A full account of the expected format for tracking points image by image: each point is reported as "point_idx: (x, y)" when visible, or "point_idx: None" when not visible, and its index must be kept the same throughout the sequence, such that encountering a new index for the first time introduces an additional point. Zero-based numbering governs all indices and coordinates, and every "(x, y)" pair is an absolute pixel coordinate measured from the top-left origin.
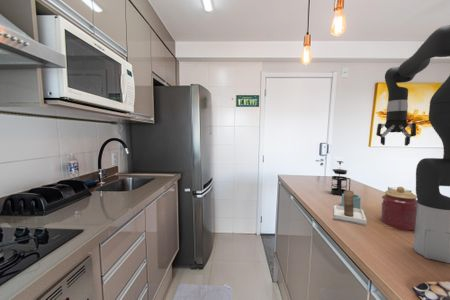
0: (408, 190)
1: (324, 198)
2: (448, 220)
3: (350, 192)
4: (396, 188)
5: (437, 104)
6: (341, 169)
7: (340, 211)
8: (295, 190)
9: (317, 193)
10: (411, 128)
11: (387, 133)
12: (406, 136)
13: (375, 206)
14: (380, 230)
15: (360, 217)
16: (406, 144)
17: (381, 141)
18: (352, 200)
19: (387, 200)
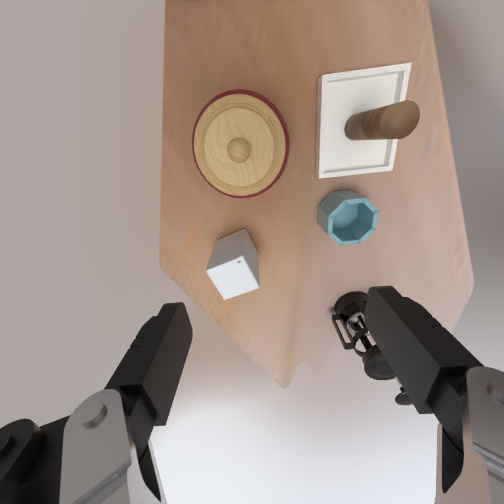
0: (212, 268)
1: (395, 254)
2: None
3: (399, 105)
4: (240, 275)
5: None
6: (382, 373)
7: (373, 148)
8: (469, 284)
9: (407, 288)
10: None
11: (489, 455)
12: (138, 423)
13: (279, 258)
14: (287, 62)
15: (327, 128)
16: (174, 305)
17: (428, 317)
18: (373, 113)
19: (277, 109)
